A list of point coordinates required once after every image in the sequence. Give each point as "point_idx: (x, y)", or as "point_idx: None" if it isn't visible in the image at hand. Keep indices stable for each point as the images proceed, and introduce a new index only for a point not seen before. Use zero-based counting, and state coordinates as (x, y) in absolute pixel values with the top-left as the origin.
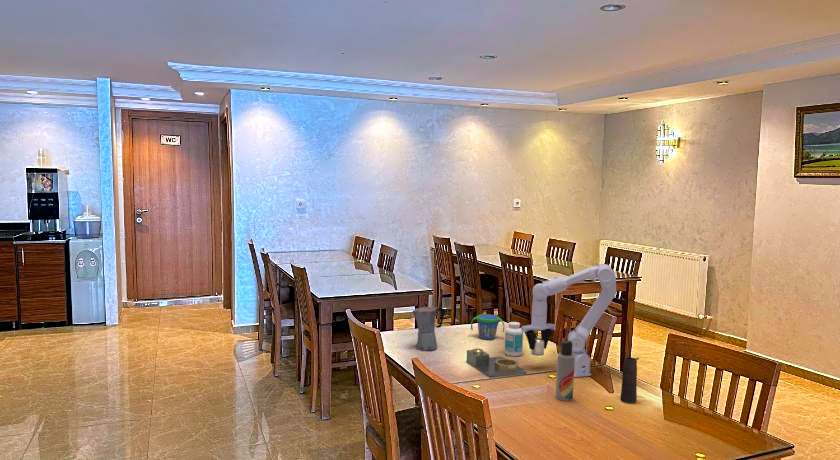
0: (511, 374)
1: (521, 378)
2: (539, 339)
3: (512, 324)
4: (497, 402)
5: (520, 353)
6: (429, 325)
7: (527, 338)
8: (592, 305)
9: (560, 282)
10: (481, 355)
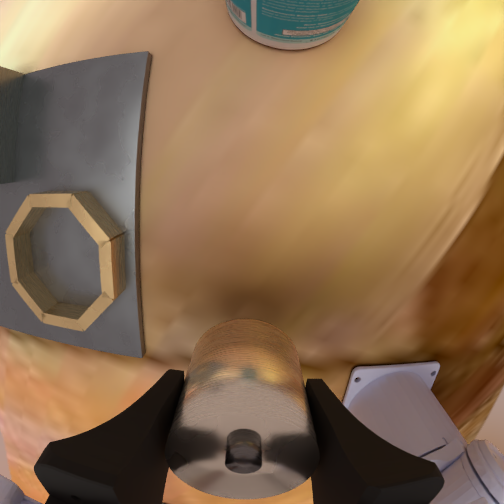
0: (66, 340)
1: (97, 383)
2: (242, 478)
3: None
4: (7, 447)
5: (308, 45)
6: None
7: (113, 424)
8: None
9: None
10: None
